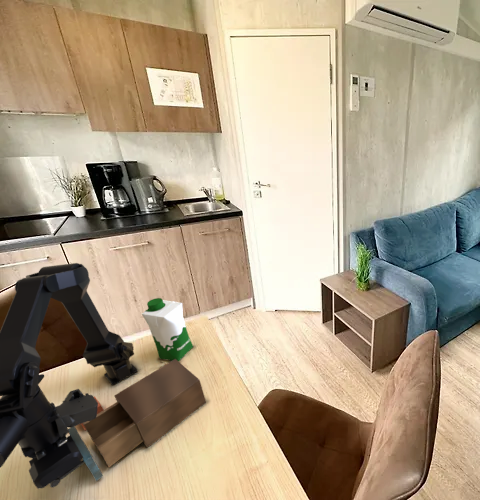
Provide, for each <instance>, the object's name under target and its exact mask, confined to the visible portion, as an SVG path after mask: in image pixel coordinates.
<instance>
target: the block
mask: <svg viewBox="0 0 480 500" xmlns="http://www.w3.org/2000/svg"><path fill="white" fill-rule="evenodd" d="M93 397H94V398H95V399H96V401H97V402H98V407H97V414H98V413H100V412H102V411H103V410H104V408H103V406H102V404H101V402H100V401H99V400H98V398H97V397H96V396H94V395H93ZM80 425H81V427H82V428H83V430H84V431H85V432H87V430H86V428H85V426H84V425H83V423H81V424H80Z"/></svg>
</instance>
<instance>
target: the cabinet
mask: <svg viewBox="0 0 480 500" xmlns="http://www.w3.org/2000/svg"><path fill="white" fill-rule="evenodd" d="M113 397H114V399H115V401H116V402H119V403H120V405H121V406H122V407H123V408H124V410H125V411H126V412H127V414H128V415H129V416H130V417H131V419H132V420H133V421H134V423H135V424H136V426H137V428H138V430H139V432H140V434H141V437H142V439H143V442H142V443H143V445H144V446H145V447H146V448H149V447H150V446H152V445H153V444H154V443H156V442H157V441H158V440H159V439H161V438H162V437H164V436H165V435H166V434H168V433H169V432H170V431H171V430H173V429H174V428H175V427H176V426H178V424H180V423H182V422H183V421H184V420H185V419H187V418H188V417H189V416H190V415H192V414H193V413H194V412H196V411H197V410H199V408H201V407H202V406H204V405H205V404H206V403H207V400H206V397H205V394H204V389H203V386H202V383H201V379H200V378H199V377H197V376H196V375H195V374H193V373H192V371H190V370H189V369H188V368H187V367H185V366H184V365H183V364H182V363H181V362H180V361H179V362H178V361H177V360H176V359H174V360H172V361H169V362H167V363H166V364H164V365H162V366H161V367H158V369H156V370H154V371H152V372H151V373H149V374H147V375H146V376H145V377H143V378H141V379H140V380H138V381H136V382H134V383H133V384H131V385H130V386H127V387H126V388H124V389H123V390H121V391H120V392H117V393H116V394H114V396H113Z"/></svg>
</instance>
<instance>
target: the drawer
mask: <svg viewBox="0 0 480 500" xmlns="http://www.w3.org/2000/svg"><path fill="white" fill-rule="evenodd" d="M83 425H84V426H85V428H86V432H87V434H88V435H89V437H90V438H91V440H92V441H93V444H94V445H95V447H96V448H97V451H98V452H99V453H100V455H101V457H102V459H103V460H104V462H105V464H106V465H107V467H108V468H110V467H112V466H113V465H115V464H116V463H117V462H118V461H120V460H121V459H122V458H123V457H125V456H126V455H127V454H129V453H130V452H132V451H133V450H134V449H135V448H137V447H138V446H140V444H142V443H143V439H142V437H141V434H140V432H139V430H138V428H137V426H136V424H135V423H134V421H133V420H132V419H131V417H130V416H129V415H128V414H127V412H126V411H125V410H124V408H123V407H122V406H121V405H120V403H119V402H117V401H116V402H114V403H113V404H112V405H109V406H108V407H107V408H105V409H103V411H102V412H100V413H98V414H97V417H96V418H95V419H93V420H91V421H87V422H84V423H83ZM68 430H69V433H68V434H69V435H68V436H70V435H71V437H72V439H73V441H74V442H75V444H76V445H77V447H78V449H79V450H80V452H81V454H82V456H83V459H82V460H81V462H80V463H78V464H77V465H75V466H74V467H73V468H71V469H70V470H68V471H67V472H65V473H64V474H63V475H61V476H60V477H58V478H57V479H55V480H54V481H53V482H51V483H50V484H49V487H50V488H56V487H57V486H59V484H60V483H61V481H62V480H64V479H65V478H66V477H67V476H69V475H70V474H71V473H73V472H74V471H76V470H77V469H79V468H80V467H82V466H83V465H84V464H85V465H86V467H87V469H88V471H89V472H90V473H91V475H92V477H93V478H94V480H95V481H96V482H98V481H99V480H100V479H101V478H103V477H104V474H103V473H102V471H101V469H100V468H99V465H98V464H97V462H96V461H95V459H94V456H93V455H92V453H91V452H90V450H89V448H88V447H87V445H86V443H85V442H84V440H83V438H82V436H81V435H80V433H79V431H78V430H77V428H76V426H74V427H68Z"/></svg>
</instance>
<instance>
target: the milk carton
mask: <svg viewBox="0 0 480 500" xmlns="http://www.w3.org/2000/svg"><path fill="white" fill-rule="evenodd" d="M146 305H147V309H146V310H145V311H144V312H142V313H141V315H142V317H143V319H144V320H145V322H146V324H147V327H148V328H149V331H150V333H151V336H152V339H153V342H154V344H155V347H156V351H157V355H158V358H159V359H160V360H165V361H169V362H171V361H172V360H174V359H176V360H177V361H178V362H180V361H181V360H182V359H183V358H184V357H185V356H186V355H187V354H188V353H189V352H190V351H191V350H192V349H193V348H194V345H193V342H192V340H191V337H190V335H189V333H188V332H189V331H188V329H187V326H186V321H185V319H184V315H183V314H184V313H183V312H184V311H183V302H178V301H176V300H175V301H174V300H166V299H163V298H161V297H156V298H152V299H150V300H149V301H147V302H146Z"/></svg>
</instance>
